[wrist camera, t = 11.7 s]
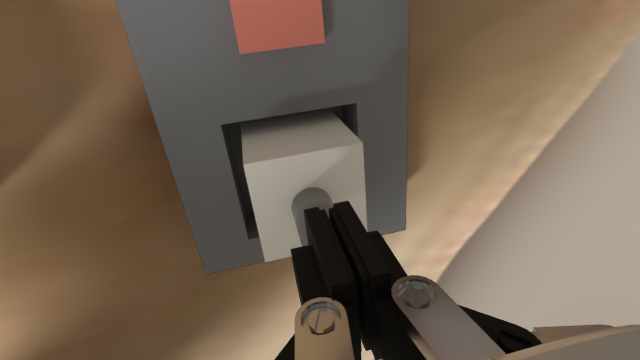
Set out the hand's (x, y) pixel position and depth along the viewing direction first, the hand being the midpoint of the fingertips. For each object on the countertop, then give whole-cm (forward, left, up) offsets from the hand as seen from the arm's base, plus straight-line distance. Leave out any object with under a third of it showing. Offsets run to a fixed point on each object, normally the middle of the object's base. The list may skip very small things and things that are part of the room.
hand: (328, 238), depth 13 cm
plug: (0, 0, -9) cm, 9 cm away
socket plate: (+3, 0, -9) cm, 10 cm away
